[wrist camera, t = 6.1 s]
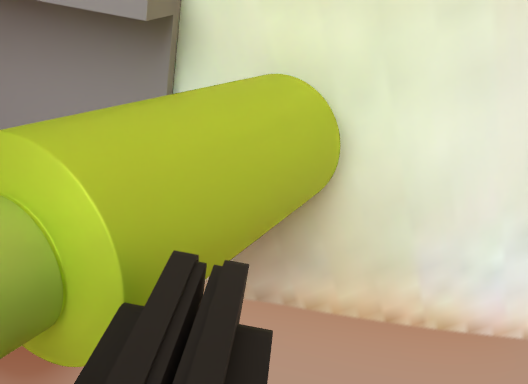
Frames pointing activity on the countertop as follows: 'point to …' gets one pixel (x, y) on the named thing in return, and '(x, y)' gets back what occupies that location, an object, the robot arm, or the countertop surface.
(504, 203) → the countertop surface
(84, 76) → the cradle
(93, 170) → the soap dispenser
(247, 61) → the countertop surface
